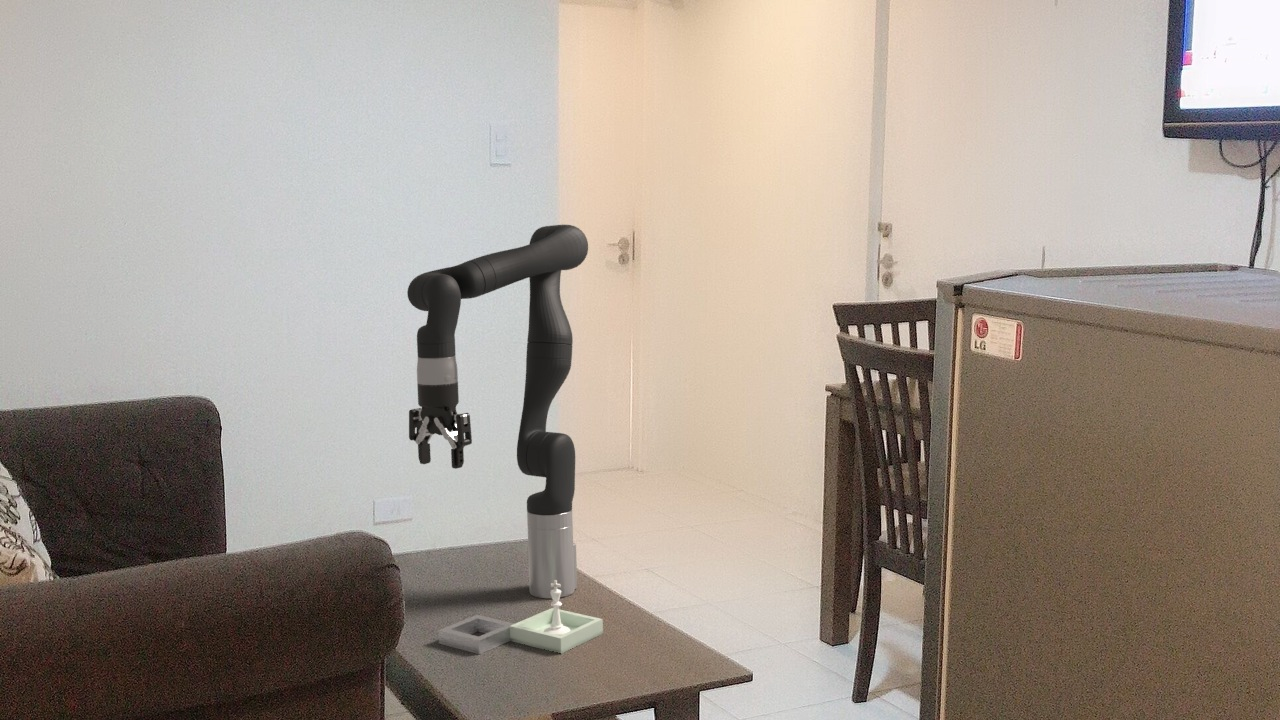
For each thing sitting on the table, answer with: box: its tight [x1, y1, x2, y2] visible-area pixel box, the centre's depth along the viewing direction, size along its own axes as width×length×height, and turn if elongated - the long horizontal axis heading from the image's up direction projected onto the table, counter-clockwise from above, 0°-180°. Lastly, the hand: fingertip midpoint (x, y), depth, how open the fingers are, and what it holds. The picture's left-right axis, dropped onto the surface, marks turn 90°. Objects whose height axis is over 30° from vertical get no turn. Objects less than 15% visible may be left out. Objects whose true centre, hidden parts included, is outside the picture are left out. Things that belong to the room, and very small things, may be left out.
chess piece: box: [544, 580, 570, 636], centre depth 210 cm, size 5×5×10 cm
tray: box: [509, 607, 604, 655], centre depth 211 cm, size 12×12×3 cm
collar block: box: [438, 614, 514, 655], centre depth 210 cm, size 10×10×2 cm
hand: (441, 465), depth 218 cm, fingers open, 8 cm apart
